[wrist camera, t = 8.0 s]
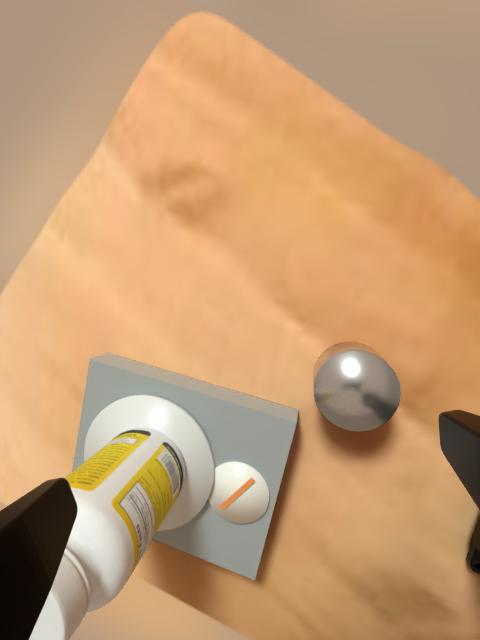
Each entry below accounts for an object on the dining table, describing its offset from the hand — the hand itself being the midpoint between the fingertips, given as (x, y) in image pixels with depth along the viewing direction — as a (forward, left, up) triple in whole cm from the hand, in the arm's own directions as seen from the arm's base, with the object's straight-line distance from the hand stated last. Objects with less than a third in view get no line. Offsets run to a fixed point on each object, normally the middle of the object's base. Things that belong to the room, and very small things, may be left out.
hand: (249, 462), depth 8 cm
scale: (+5, +9, -14) cm, 17 cm away
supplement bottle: (+7, +9, -11) cm, 16 cm away
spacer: (-4, +1, -14) cm, 14 cm away
